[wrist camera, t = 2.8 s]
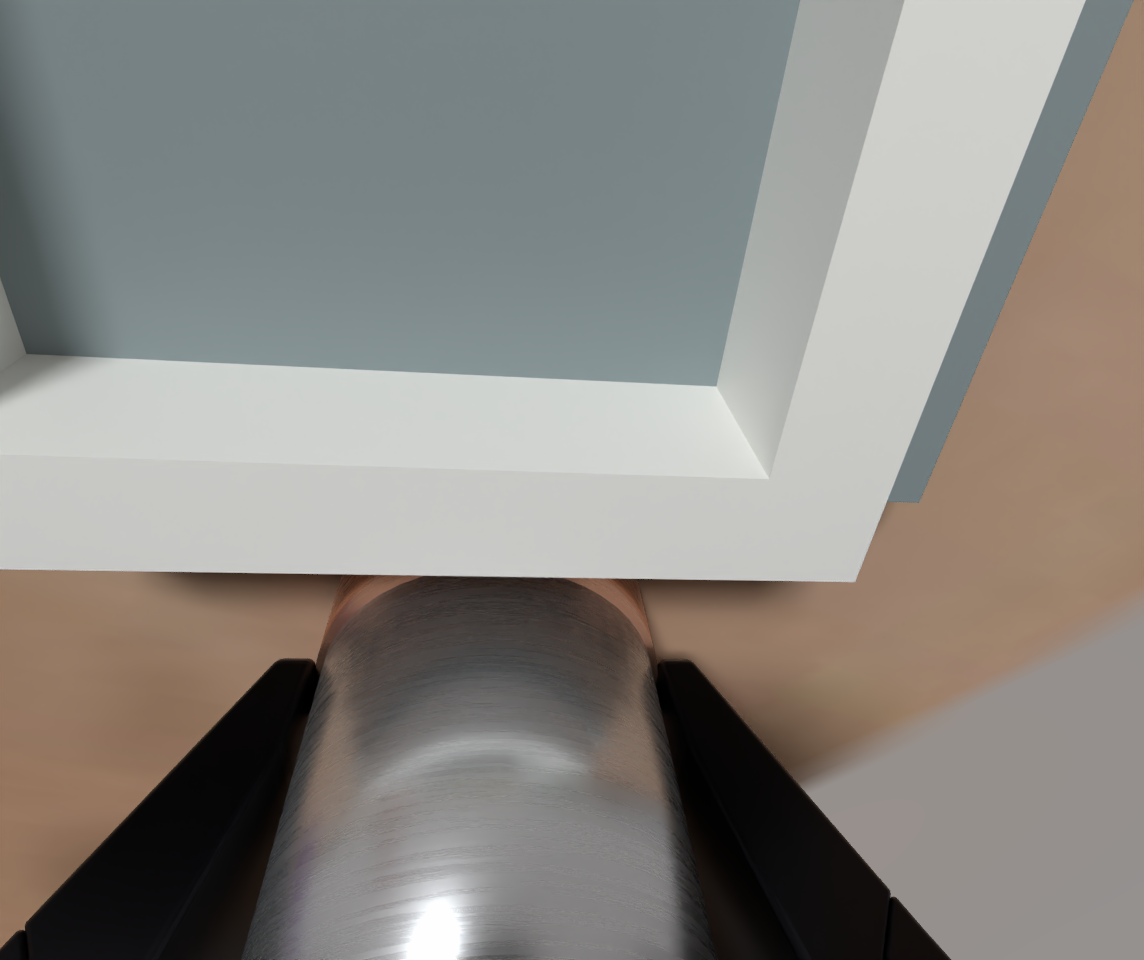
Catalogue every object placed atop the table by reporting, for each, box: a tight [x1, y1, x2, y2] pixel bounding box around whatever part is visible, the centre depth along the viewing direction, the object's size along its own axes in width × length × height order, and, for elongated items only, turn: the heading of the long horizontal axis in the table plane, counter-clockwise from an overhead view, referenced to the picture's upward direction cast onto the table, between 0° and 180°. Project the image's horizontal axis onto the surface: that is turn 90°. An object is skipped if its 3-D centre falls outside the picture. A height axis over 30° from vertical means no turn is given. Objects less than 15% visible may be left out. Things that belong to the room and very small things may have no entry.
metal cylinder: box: [241, 574, 717, 960], centre depth 7 cm, size 4×4×6 cm
